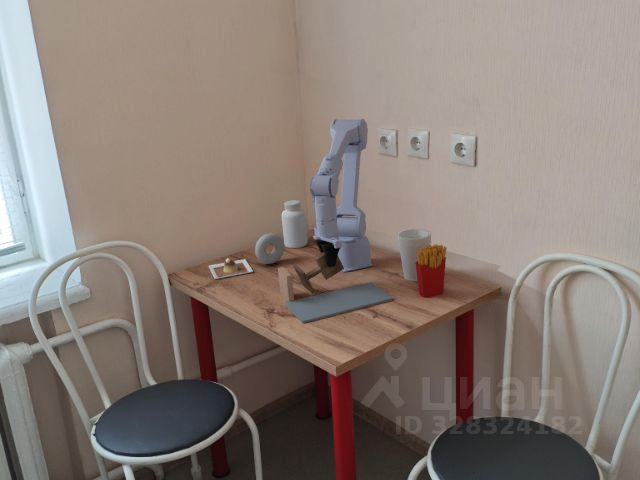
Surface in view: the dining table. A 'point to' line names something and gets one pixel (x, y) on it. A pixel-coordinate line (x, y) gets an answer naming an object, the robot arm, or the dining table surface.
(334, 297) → the mat
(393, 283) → the dining table surface
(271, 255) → the donut
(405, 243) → the foam cup
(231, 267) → the white frame and cone
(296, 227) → the pill bottle
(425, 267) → the french fries
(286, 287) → the tile
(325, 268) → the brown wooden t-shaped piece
